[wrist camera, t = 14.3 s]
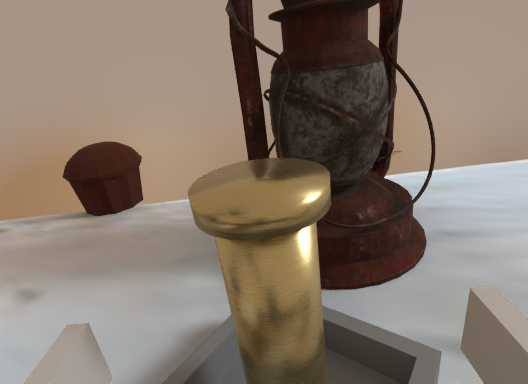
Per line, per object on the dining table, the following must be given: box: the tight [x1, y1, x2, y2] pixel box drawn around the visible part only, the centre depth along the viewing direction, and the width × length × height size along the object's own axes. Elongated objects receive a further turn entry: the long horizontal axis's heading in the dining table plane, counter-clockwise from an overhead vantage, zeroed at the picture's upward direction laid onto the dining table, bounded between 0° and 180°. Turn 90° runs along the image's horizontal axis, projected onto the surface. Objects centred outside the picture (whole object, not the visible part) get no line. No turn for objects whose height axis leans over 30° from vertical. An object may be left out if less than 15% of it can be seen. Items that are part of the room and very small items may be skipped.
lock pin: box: [188, 158, 331, 384], centre depth 14 cm, size 5×5×14 cm
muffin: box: [63, 142, 143, 216], centre depth 51 cm, size 12×11×10 cm
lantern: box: [226, 0, 435, 290], centre depth 30 cm, size 19×19×30 cm
